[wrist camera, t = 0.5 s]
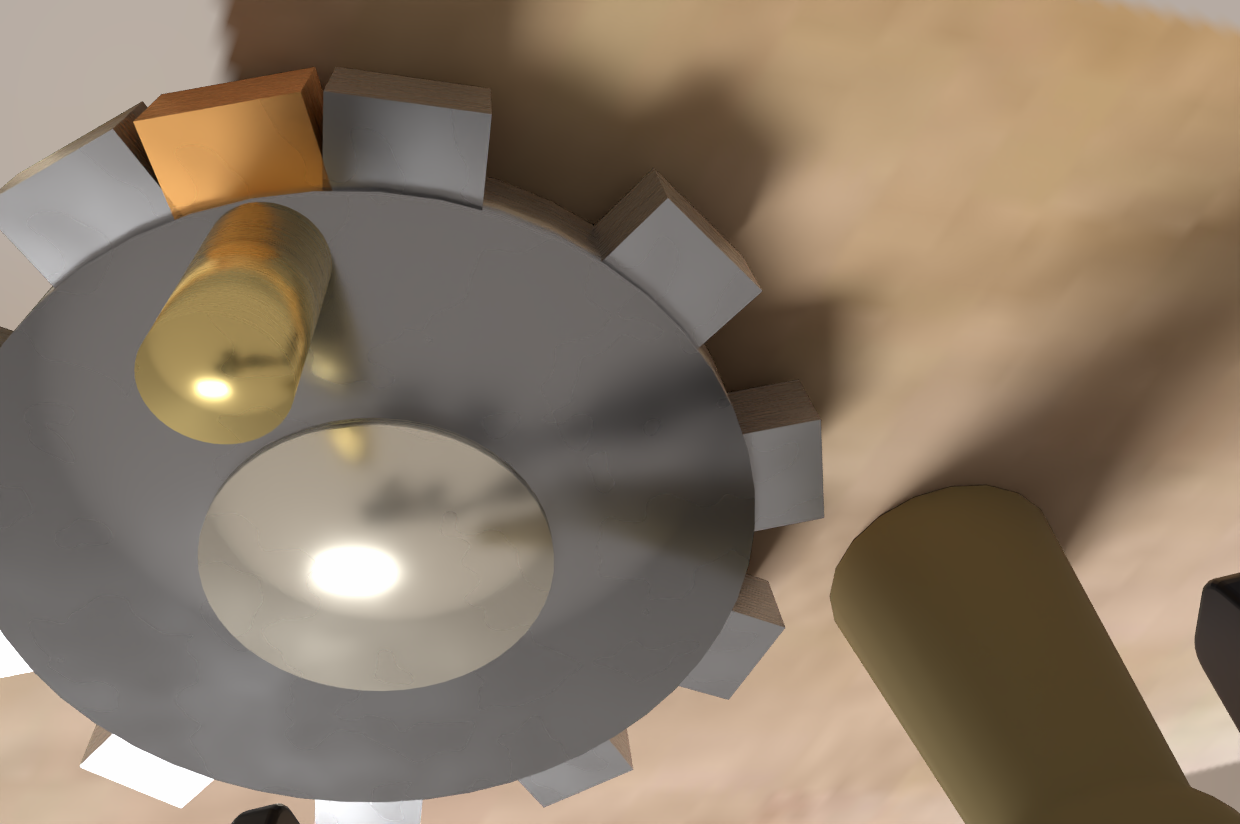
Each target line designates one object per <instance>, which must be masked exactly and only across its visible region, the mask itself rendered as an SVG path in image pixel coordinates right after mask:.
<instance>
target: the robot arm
mask: <svg viewBox="0 0 1240 824" xmlns="http://www.w3.org/2000/svg"><path fill="white" fill-rule="evenodd" d="M1195 650H1196V654H1197V657H1198V659H1199V662H1200V664H1201V666H1202V668H1203V670H1204V671H1205V673H1206V675H1207V677H1208V678H1209V680H1210V682H1211V684H1212V685H1213V687H1214V689H1215V691H1216V692H1217V694H1218V696H1219V697H1220V699H1221V701H1222V703H1223V704H1224V706H1225V708H1226V710H1227V711H1228V713H1229V715H1230V717H1231V718H1232V720H1233V722H1234V723H1235V725H1236V727H1237V729H1238V730H1239V732H1240V573H1236V574H1232V575H1228V576H1224V577H1219V578H1215V579H1212V580H1210V581H1208V583H1207V584H1206V585H1205V586H1204V588H1203V591H1202V596H1201V602H1200V608H1199V614H1198V620H1197V626H1196V633H1195ZM231 824H300V823H299V822H298V820H297V819H296V817H295V816H294V815H293V813H292V812H291V810H290V809H289V808H288V807H287V806H285V805H283V804H273V805H268V806H264V807H260V808H256V809H252V810H248V811H245V812H243V813H241V814H240V815H239V816H238V817H237V818H236V819H234V821H233V822H232V823H231Z"/></svg>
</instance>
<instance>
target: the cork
mask: <svg viewBox="0 0 1240 824" xmlns="http://www.w3.org/2000/svg"><path fill="white" fill-rule="evenodd" d="M830 601H831V605H832V610H833V615H834V620H835V622H836V624H837V625H838V627H839V628H840V630H841V631H842V633H843V635H844V636H845V638H846V639H847V641H848V642H849V644H850V645H851V647H852V649H853V650H854V652H855V653H856V655H857V656H858V658H859V659H860V661H861V663H862V664H863V666H864V667H865V669H866V670H867V672H868V673H869V675H870V677H871V678H872V680H873V681H874V683H875V684H876V686H877V687H878V689H879V690H880V692H881V694H882V695H883V697H884V698H885V700H886V701H887V703H888V704H889V706H890V708H891V709H892V711H893V712H894V714H895V715H896V717H897V718H898V720H899V722H900V723H901V725H902V726H903V728H904V729H905V731H906V732H907V734H908V736H909V737H910V739H911V740H912V742H913V743H914V745H915V746H916V748H917V749H918V751H919V753H920V754H921V756H922V757H923V759H924V760H925V762H926V763H927V765H928V767H929V768H930V770H931V771H932V773H933V774H934V776H935V777H936V779H937V781H938V782H939V784H940V785H941V787H942V788H943V790H944V791H945V793H946V795H947V796H948V798H949V799H950V801H951V802H952V804H953V805H954V807H955V809H956V810H957V812H958V813H959V815H960V816H961V818H962V819H963V821H964V822H965V824H1240V813H1238V812H1237V811H1236V810H1235V809H1233V808H1232V807H1230V806H1228V805H1227V804H1225V803H1223V802H1222V801H1220V800H1218V799H1217V798H1215V797H1213V796H1211V795H1209V794H1206V793H1204V792H1201V791H1199V790H1197V789H1194V788H1192V787H1190V785H1189V783H1188V781H1187V779H1186V777H1185V776H1184V774H1183V772H1182V770H1181V768H1180V766H1179V764H1178V763H1177V761H1176V759H1175V757H1174V755H1173V753H1172V751H1171V750H1170V748H1169V746H1168V744H1167V742H1166V740H1165V739H1164V737H1163V735H1162V733H1161V731H1160V729H1159V727H1158V726H1157V724H1156V722H1155V720H1154V718H1153V716H1152V715H1151V713H1150V711H1149V709H1148V707H1147V705H1146V703H1145V702H1144V700H1143V698H1142V696H1141V694H1140V692H1139V690H1138V689H1137V687H1136V685H1135V683H1134V681H1133V679H1132V678H1131V676H1130V674H1129V672H1128V670H1127V668H1126V666H1125V665H1124V663H1123V661H1122V659H1121V657H1120V655H1119V653H1118V652H1117V650H1116V648H1115V646H1114V644H1113V642H1112V641H1111V639H1110V637H1109V635H1108V633H1107V631H1106V629H1105V628H1104V626H1103V624H1102V622H1101V620H1100V618H1099V616H1098V615H1097V613H1096V611H1095V609H1094V607H1093V605H1092V604H1091V602H1090V600H1089V598H1088V596H1087V594H1086V592H1085V591H1084V589H1083V587H1082V585H1081V583H1080V581H1079V580H1078V578H1077V576H1076V574H1075V572H1074V570H1073V568H1072V567H1071V565H1070V563H1069V561H1068V559H1067V557H1066V555H1065V554H1064V552H1063V550H1062V548H1061V546H1060V544H1059V543H1058V541H1057V539H1056V537H1055V535H1054V533H1053V531H1052V530H1051V528H1050V526H1049V524H1048V522H1047V520H1046V518H1045V517H1044V515H1043V513H1042V511H1041V509H1039V508H1038V507H1036V506H1035V505H1034V504H1032V503H1031V502H1030V501H1028V500H1027V499H1025V498H1024V497H1023V496H1021V495H1020V494H1019V493H1015V492H1012V491H1008V490H1004V489H1000V488H996V487H992V486H988V485H980V486H955V487H948V488H945V489H941V490H938V491H934V492H931V493H928V494H924V495H921V496H917V497H914V498H912V499H910V500H908V501H907V502H905V503H903V504H901V505H899V506H898V507H896V508H894V509H892V510H891V511H889V512H887V513H885V514H883V515H882V516H880V517H879V518H878V519H876V520H875V521H874V522H873V523H872V524H871V525H870V526H869V527H868V528H867V529H866V530H865V531H864V532H862V533H861V534H860V535H859V536H858V537H857V538H856V539H855V540H854V541H853V542H852V543H851V545H850V547H849V548H848V550H847V551H846V553H845V555H844V556H843V558H842V560H841V561H840V563H839V564H838V566H837V568H836V570H835V574H834V579H833V583H832V588H831V593H830Z"/></svg>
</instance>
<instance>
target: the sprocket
mask: <svg viewBox="0 0 1240 824" xmlns="http://www.w3.org/2000/svg"><path fill="white" fill-rule="evenodd" d="M491 118H492V106H491V89H490V88H483V87H476V86H469V85H462V84H455V83H448V82H440V81H433V80H426V79H419V78H412V77H405V76H398V75H391V74H384V73H377V72H370V71H363V70H356V69H349V68H342V67H335V69H334V71H333V73H332V75H331V77H330V79H329V81H328V83H327V85H326V87H325V89H324V91H322V88H321V85H320V81H319V78H318V75H317V72H316V68H315V67H312V68H307V69H301V70H295V71H290V72H284V73H279V74H273V75H267V76H262V77H256V78H251V79H245V80H239V81H234V82H228V83H223V84H217V85H211V86H206V87H200V88H195V89H189V90H184V91H178V92H173V93H167V94H161V95H160V96H159V97H158V98H157V99H156V100H155V101H154V102H153V103H152V104H151V105H150V106H149V107H148V108H147V106H146V105H145V104H144V102H140V103H139V104H137V105H135V106H134V107H132V108H130V109H128V110H127V111H125V112H123V113H121V114H120V115H118V116H116V117H115V118H113V119H111V120H110V121H108V122H106V123H104V124H103V125H101V126H99V127H98V128H96V129H94V130H92V131H91V132H89V133H87V134H86V135H84V136H82V137H81V138H79V139H77V140H75V141H74V142H72V143H70V144H68V145H67V146H65V147H63V148H62V149H60V150H58V151H57V152H55V153H53V154H52V155H50V156H48V157H46V158H44V159H43V160H41V161H39V162H38V163H36V164H34V165H32V166H31V167H30V168H27V169H26V170H24V171H22V172H20V173H19V174H17V176H15V177H14V178H13V179H11V180H10V181H9V182H8V183H7V184H5V185H4V186H3V187H2V188H1V189H0V230H1V232H3V234H5V236H6V237H7V238H8V239H9V240H10V241H11V242H12V243H13V244H14V245H15V246H16V247H17V249H19V251H20V252H21V253H22V254H23V255H24V256H25V257H26V258H27V259H28V260H29V261H30V262H31V263H32V264H33V265H34V267H35V268H36V269H37V270H38V271H39V272H40V273H41V274H42V275H43V276H44V277H45V278H46V279H47V280H48V281H49V282H50V284H51V285H52V288H51V289H50V290H49V291H48V292H47V293H46V294H45V295H44V297H43V298H42V299H41V300H40V301H39V302H38V304H37V305H36V306H35V307H34V308H33V309H32V311H31V312H30V313H29V314H28V315H27V316H26V318H25V319H24V320H23V321H22V322H21V324H20V325H19V326H18V327H17V328H16V329H15V330H14V331H12V330H8V329H5V328H3V327H0V678H1V677H6V676H11V675H16V674H21V673H26V672H32V671H33V672H34V673H35V674H37V675H38V676H39V677H40V678H41V679H42V680H43V681H44V682H45V683H46V684H47V685H48V686H49V687H50V688H51V689H52V690H53V691H54V692H55V693H57V694H58V695H59V696H60V697H61V698H62V699H63V700H65V701H66V702H67V703H69V704H70V705H71V706H73V707H74V708H75V709H77V710H78V711H79V712H81V713H82V714H83V715H85V716H86V717H87V718H89V719H90V720H91V721H93V722H94V723H95V724H96V727H95V729H94V732H93V734H92V737H91V739H90V742H89V744H88V747H87V749H86V752H85V754H84V756H83V759H82V761H81V764H80V766H79V767H82V768H84V769H86V770H89V771H91V772H94V773H96V774H99V775H101V776H103V777H106V778H108V779H111V780H113V781H116V782H118V783H121V784H123V785H125V786H128V787H130V788H133V789H135V790H138V791H140V792H143V793H145V794H147V795H150V796H152V797H155V798H157V799H160V800H162V801H164V802H167V803H169V804H172V805H174V806H177V807H179V808H182V807H183V806H185V805H186V804H187V803H188V802H189V801H190V800H191V799H192V798H194V797H195V796H196V795H197V794H198V793H199V792H200V791H201V790H203V789H204V788H205V787H206V786H207V785H208V784H209V783H210V782H212V781H213V780H218V781H222V782H226V783H229V784H233V785H237V786H241V787H245V788H249V789H252V790H256V791H261V792H267V793H273V794H279V795H285V796H291V797H296V798H304V799H315V824H420V820H421V810H422V801H423V799H432V798H438V797H445V796H451V795H458V794H464V793H470V792H474V791H478V790H482V789H486V788H490V787H494V786H499V785H503V784H507V783H510V782H513V781H516V780H518V781H519V782H520V783H521V784H522V785H523V786H524V787H525V788H526V789H527V790H528V791H529V792H530V793H531V794H532V795H533V797H534V798H535V799H536V800H537V801H538V802H539V803H540V804H541V805H542V806H543V807H546V806H549V805H551V804H553V803H556V802H558V801H560V800H563V799H565V798H568V797H570V796H572V795H575V794H577V793H579V792H582V791H584V790H586V789H589V788H591V787H593V786H596V785H598V784H600V783H603V782H605V781H608V780H610V779H612V778H615V777H617V776H619V775H622V774H624V773H626V772H629V771H631V770H633V765H632V759H631V753H630V747H629V740H628V734H627V728H628V727H629V726H631V725H632V724H633V723H635V722H636V721H638V720H639V719H640V718H642V717H643V716H645V715H646V714H648V713H649V712H650V711H651V710H652V709H653V708H654V707H656V706H657V705H658V704H659V703H660V702H661V701H662V700H664V699H665V698H666V697H667V696H668V695H669V694H670V693H671V692H673V691H674V690H675V689H676V688H677V687H678V686H681V687H684V688H688V689H691V690H695V691H699V692H702V693H706V694H710V695H713V696H717V697H721V698H724V699H728V700H729V699H730V697H731V696H732V695H733V694H734V692H735V691H736V690H737V688H738V687H739V686H740V685H741V683H742V682H743V681H744V680H745V678H746V677H747V676H748V675H749V673H750V672H751V671H752V669H753V668H754V667H755V666H756V664H757V663H758V662H759V661H760V659H761V658H762V657H763V655H764V654H765V653H766V652H767V650H768V649H769V648H770V647H771V645H772V644H773V643H774V641H775V640H776V639H777V638H778V636H779V635H780V634H781V633H782V631H783V630H784V629H785V625H784V623H783V620H782V617H781V615H780V612H779V609H778V606H777V604H776V601H775V598H774V596H773V593H772V590H771V587H770V585H769V582H768V581H766V580H763V579H760V578H757V577H754V576H751V575H748V574H746V571H747V568H748V565H749V560H750V554H751V548H752V542H753V535H754V531H759V530H764V529H769V528H774V527H779V526H785V525H790V524H795V523H800V522H805V521H810V520H815V519H821V518H824V499H823V469H822V439H821V419H820V417H819V415H818V413H817V412H816V410H815V408H814V406H813V404H812V403H811V401H810V399H809V397H808V395H807V393H806V392H805V390H804V388H803V386H802V384H801V382H800V381H799V379H798V380H793V381H787V382H782V383H777V384H771V385H766V386H761V387H756V388H750V389H745V390H740V391H735V392H729V393H727V392H726V390H725V387H724V385H723V382H722V380H721V378H720V375H719V373H718V370H717V368H716V366H715V363H714V361H713V359H712V357H711V355H710V354H709V352H708V350H707V348H706V346H705V344H704V343H705V342H706V341H707V340H708V339H709V338H710V337H711V336H712V335H714V334H715V333H716V332H717V331H718V330H719V329H720V328H721V327H723V326H724V325H725V324H726V323H727V322H728V321H729V320H730V319H732V318H733V317H734V316H735V315H736V314H737V313H738V312H739V311H741V310H742V309H743V308H744V307H745V306H746V305H747V304H748V303H750V302H751V301H752V300H753V299H754V298H755V297H756V296H757V295H759V294H760V293H761V292H762V289H761V288H760V286H759V284H758V282H757V281H756V279H755V277H754V275H753V274H752V272H751V270H750V268H749V267H748V265H747V263H746V261H745V260H744V258H743V256H742V255H741V254H740V253H739V252H738V251H737V250H736V249H735V248H734V247H733V246H732V245H731V244H730V243H729V242H728V241H727V240H726V239H725V238H724V237H723V236H722V235H721V234H720V233H719V232H718V231H717V230H716V229H715V228H714V227H713V226H712V225H711V224H710V223H709V222H708V221H707V220H706V219H705V218H704V217H703V216H702V215H701V214H700V213H699V212H698V211H697V210H696V209H695V208H694V207H693V206H692V205H691V204H690V203H689V202H688V201H687V200H686V199H685V198H684V197H683V196H682V195H681V194H680V193H679V192H678V191H677V190H676V189H674V188H673V187H672V186H671V185H670V184H669V183H668V182H667V181H666V180H665V179H664V178H663V177H662V176H661V175H660V174H659V173H658V172H657V171H656V170H655V169H654V168H653V169H652V170H651V171H650V172H649V173H648V174H647V175H646V176H645V177H644V178H643V179H642V180H641V181H640V182H639V183H638V184H637V185H636V186H635V187H634V188H633V189H632V190H631V191H630V192H629V193H628V194H627V195H625V196H624V197H623V198H622V199H621V200H620V201H619V202H618V203H617V204H616V205H615V206H614V207H613V208H612V209H611V210H610V211H609V212H608V213H607V214H606V215H605V216H604V217H603V218H602V219H601V220H600V221H599V222H598V223H597V224H596V225H595V226H594V225H592V224H590V223H589V222H587V221H585V220H583V219H582V218H580V217H578V216H576V215H575V214H573V213H571V212H569V211H567V210H566V209H564V208H562V207H560V206H559V205H557V204H555V203H553V202H552V201H550V200H547V199H545V198H543V197H540V196H538V195H535V194H533V193H530V192H528V191H525V190H523V189H520V188H518V187H516V186H513V185H511V184H508V183H506V182H503V181H501V180H498V179H494V178H491V177H487V176H486V167H487V158H488V148H489V138H490V128H491Z"/></svg>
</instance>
